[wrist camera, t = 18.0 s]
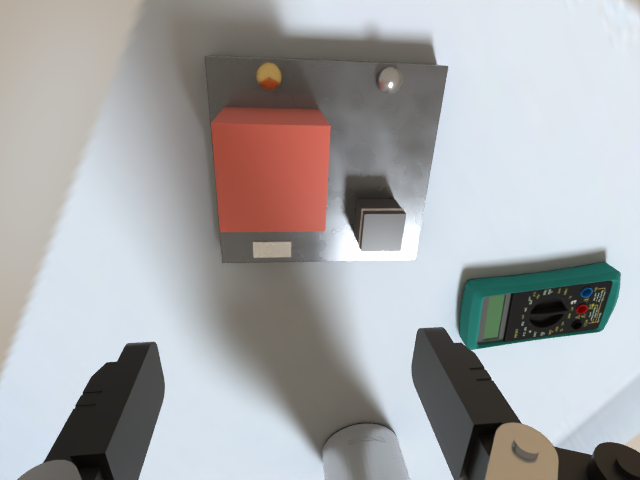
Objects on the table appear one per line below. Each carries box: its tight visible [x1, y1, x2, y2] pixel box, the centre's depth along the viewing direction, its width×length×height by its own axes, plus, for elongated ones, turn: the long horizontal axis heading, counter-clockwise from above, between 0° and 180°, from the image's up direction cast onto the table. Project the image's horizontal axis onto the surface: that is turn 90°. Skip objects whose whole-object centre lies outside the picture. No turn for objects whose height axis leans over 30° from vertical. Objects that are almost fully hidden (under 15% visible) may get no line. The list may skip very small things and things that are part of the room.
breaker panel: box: [205, 56, 448, 263], centre depth 29 cm, size 15×16×3 cm
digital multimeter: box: [460, 262, 621, 350], centre depth 38 cm, size 7×15×3 cm, turn 95°
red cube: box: [211, 107, 331, 232], centre depth 25 cm, size 6×6×6 cm
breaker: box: [354, 199, 406, 252], centre depth 29 cm, size 3×3×3 cm
